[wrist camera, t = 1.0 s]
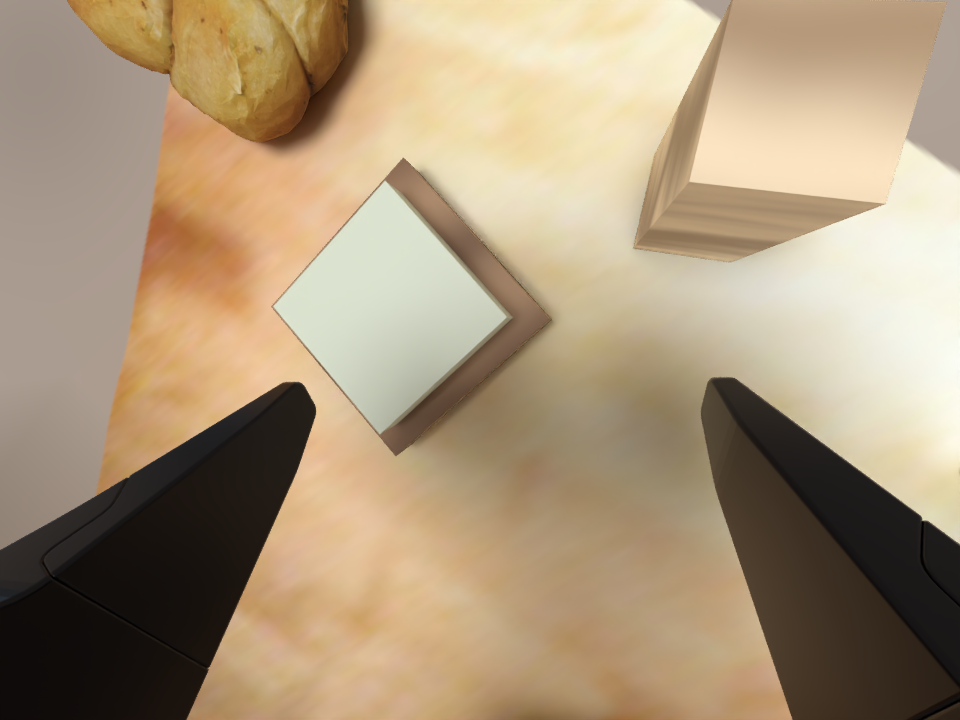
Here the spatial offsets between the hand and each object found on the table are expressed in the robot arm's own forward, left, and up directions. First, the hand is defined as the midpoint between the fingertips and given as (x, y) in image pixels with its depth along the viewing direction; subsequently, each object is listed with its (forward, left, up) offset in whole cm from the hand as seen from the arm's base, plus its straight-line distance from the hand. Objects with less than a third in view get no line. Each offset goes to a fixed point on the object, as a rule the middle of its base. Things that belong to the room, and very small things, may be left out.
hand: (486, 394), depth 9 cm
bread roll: (+22, -1, -14) cm, 26 cm away
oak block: (0, -10, -13) cm, 17 cm away
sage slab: (+6, +4, -11) cm, 13 cm away
